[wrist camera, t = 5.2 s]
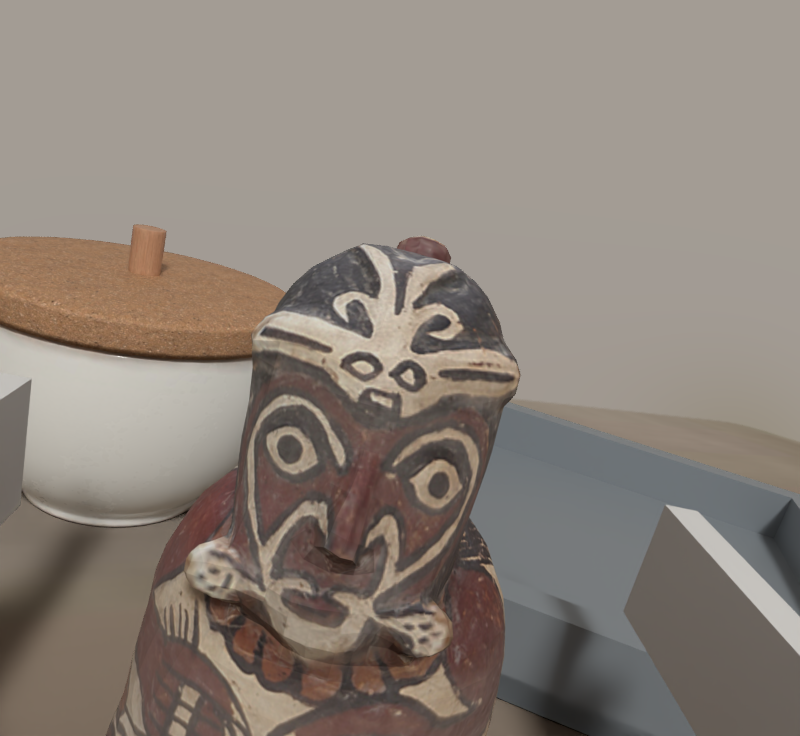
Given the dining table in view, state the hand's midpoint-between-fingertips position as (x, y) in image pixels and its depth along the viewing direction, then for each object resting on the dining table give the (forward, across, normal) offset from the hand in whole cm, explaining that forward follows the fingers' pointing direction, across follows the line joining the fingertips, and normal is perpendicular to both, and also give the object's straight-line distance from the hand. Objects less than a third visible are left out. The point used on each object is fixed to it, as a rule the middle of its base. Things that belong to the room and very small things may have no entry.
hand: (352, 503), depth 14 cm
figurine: (-2, 0, -7) cm, 7 cm away
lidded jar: (+10, -8, -7) cm, 14 cm away
